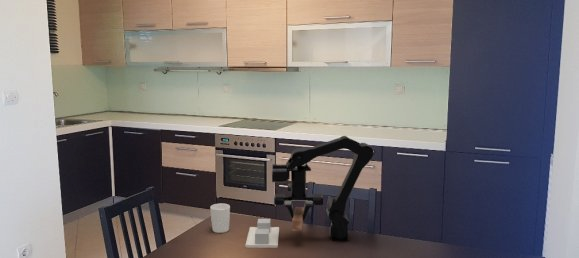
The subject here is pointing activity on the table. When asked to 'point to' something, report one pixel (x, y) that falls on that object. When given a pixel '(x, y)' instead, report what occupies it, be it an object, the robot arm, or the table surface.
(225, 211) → the white cup
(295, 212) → the terracotta bar
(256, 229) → the display stand
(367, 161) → the robot arm
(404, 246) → the table surface
